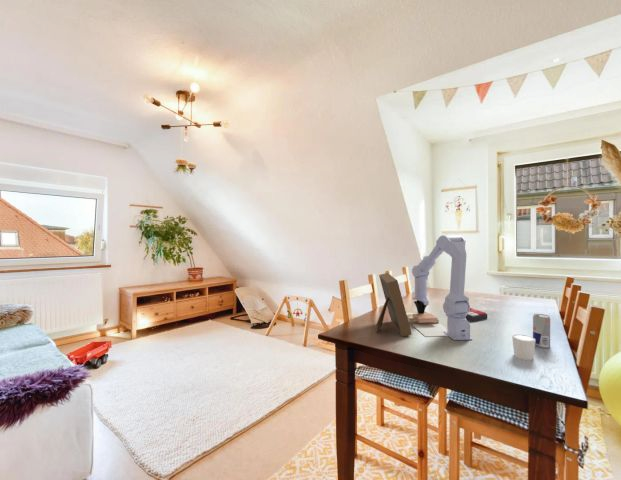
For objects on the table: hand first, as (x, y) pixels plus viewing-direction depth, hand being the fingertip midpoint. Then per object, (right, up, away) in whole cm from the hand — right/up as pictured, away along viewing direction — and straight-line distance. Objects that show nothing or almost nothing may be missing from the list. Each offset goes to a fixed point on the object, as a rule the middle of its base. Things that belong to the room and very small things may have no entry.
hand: (420, 315), depth 148 cm
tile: (0, -1, -5) cm, 5 cm away
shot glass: (+21, -4, -43) cm, 48 cm away
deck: (0, -3, +2) cm, 3 cm away
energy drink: (+35, -3, -34) cm, 49 cm away
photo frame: (-19, -4, -11) cm, 22 cm away
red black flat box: (+27, -3, +6) cm, 27 cm away
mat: (0, -3, -14) cm, 14 cm away
